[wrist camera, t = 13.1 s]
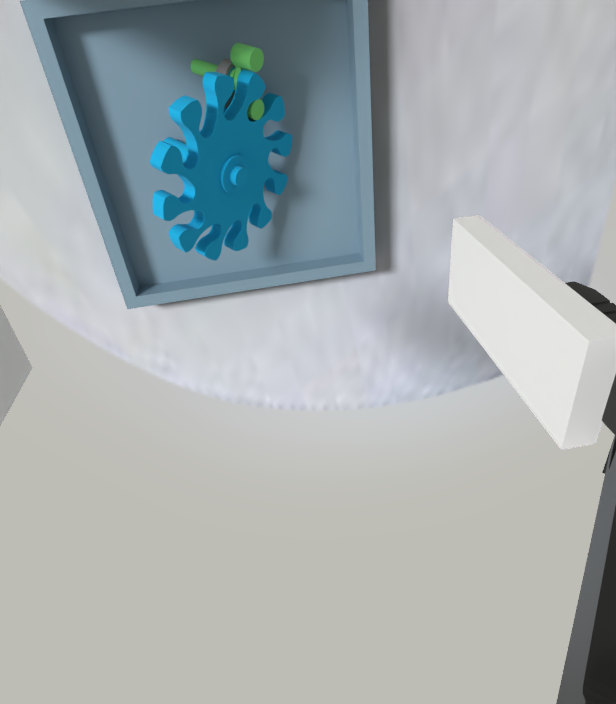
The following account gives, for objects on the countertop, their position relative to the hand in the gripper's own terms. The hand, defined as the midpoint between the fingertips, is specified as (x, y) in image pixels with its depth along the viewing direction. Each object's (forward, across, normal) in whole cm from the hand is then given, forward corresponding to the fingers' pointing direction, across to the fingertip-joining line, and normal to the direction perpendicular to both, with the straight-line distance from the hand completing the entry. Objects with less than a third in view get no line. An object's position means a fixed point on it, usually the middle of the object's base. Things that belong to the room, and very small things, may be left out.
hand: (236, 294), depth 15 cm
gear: (+19, 0, 0) cm, 19 cm away
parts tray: (+20, 0, 0) cm, 20 cm away
